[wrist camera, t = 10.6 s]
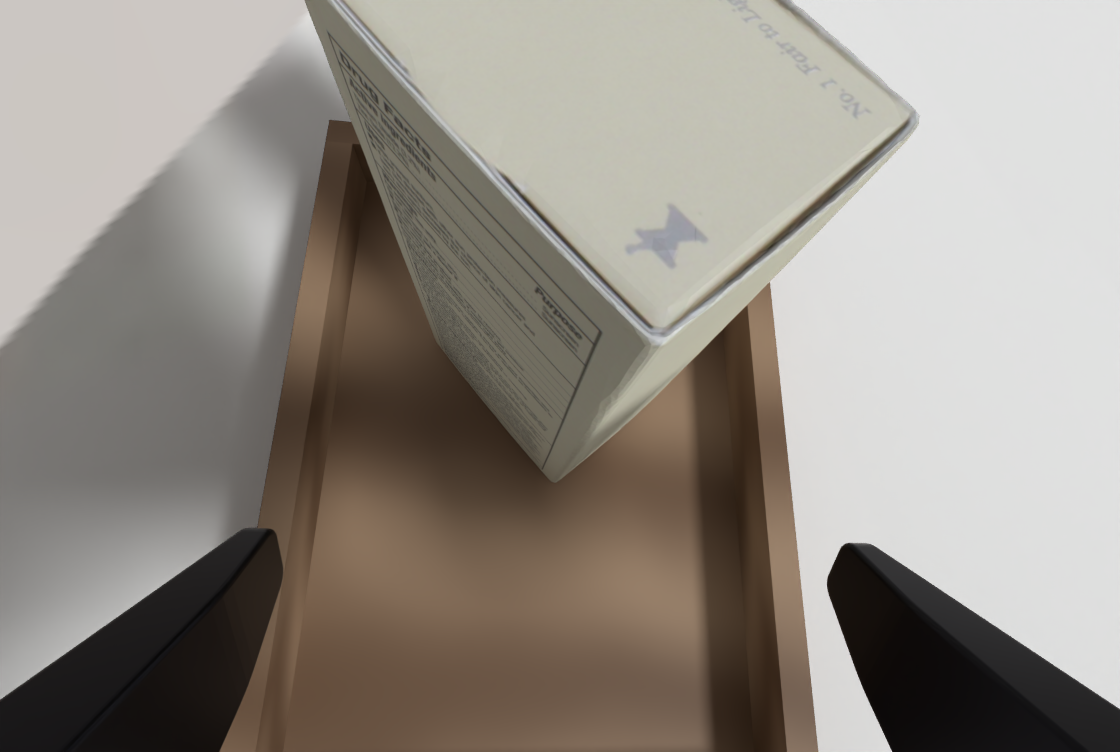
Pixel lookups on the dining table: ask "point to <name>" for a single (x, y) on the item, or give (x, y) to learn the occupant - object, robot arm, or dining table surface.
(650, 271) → the skincare box
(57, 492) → the dining table surface
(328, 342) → the walnut tray
